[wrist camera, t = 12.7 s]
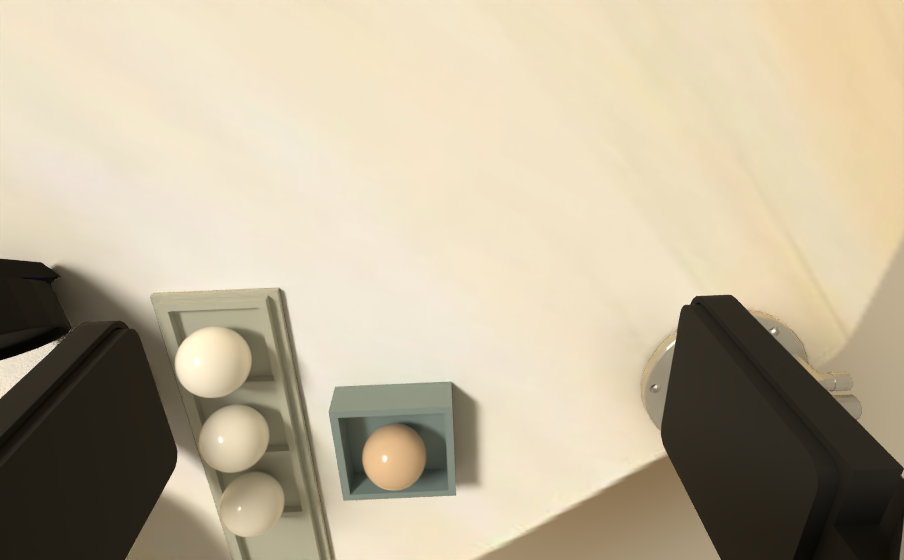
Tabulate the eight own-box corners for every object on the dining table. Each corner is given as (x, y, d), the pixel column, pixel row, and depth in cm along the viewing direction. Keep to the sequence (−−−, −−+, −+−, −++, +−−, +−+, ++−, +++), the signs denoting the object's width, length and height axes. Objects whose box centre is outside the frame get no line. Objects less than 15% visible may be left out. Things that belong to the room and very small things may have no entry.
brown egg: (426, 409, 45) (423, 455, 41) (429, 456, 47) (426, 504, 43) (364, 410, 45) (353, 456, 41) (370, 457, 48) (361, 505, 43)
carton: (278, 287, 41) (274, 295, 40) (331, 559, 54) (329, 571, 53) (153, 293, 41) (145, 301, 40) (236, 563, 54) (232, 575, 53)
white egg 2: (270, 389, 44) (251, 434, 40) (281, 438, 46) (265, 486, 42) (206, 392, 44) (180, 437, 40) (220, 441, 46) (197, 489, 42)
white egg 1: (253, 311, 41) (231, 350, 36) (265, 368, 43) (246, 411, 39) (183, 314, 41) (153, 354, 36) (200, 371, 43) (173, 414, 39)
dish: (451, 381, 45) (452, 406, 42) (455, 468, 49) (456, 495, 46) (335, 386, 45) (328, 411, 42) (348, 472, 49) (343, 500, 46)
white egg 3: (285, 457, 47) (269, 505, 43) (295, 499, 50) (281, 550, 45) (225, 459, 47) (203, 508, 43) (237, 502, 49) (218, 552, 45)
